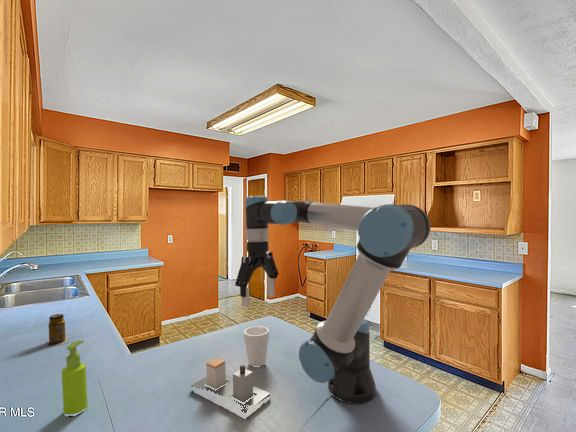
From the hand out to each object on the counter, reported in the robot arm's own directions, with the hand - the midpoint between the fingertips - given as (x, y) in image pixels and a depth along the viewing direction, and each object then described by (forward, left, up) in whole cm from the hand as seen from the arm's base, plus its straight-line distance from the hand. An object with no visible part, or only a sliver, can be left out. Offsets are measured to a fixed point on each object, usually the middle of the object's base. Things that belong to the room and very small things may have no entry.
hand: (258, 300), depth 110 cm
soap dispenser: (+34, +45, -27) cm, 62 cm away
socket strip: (0, +15, -27) cm, 31 cm away
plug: (+6, +15, -26) cm, 31 cm away
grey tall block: (-6, +15, -26) cm, 31 cm away
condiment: (+96, +30, -27) cm, 104 cm away
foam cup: (+6, -5, -27) cm, 28 cm away
